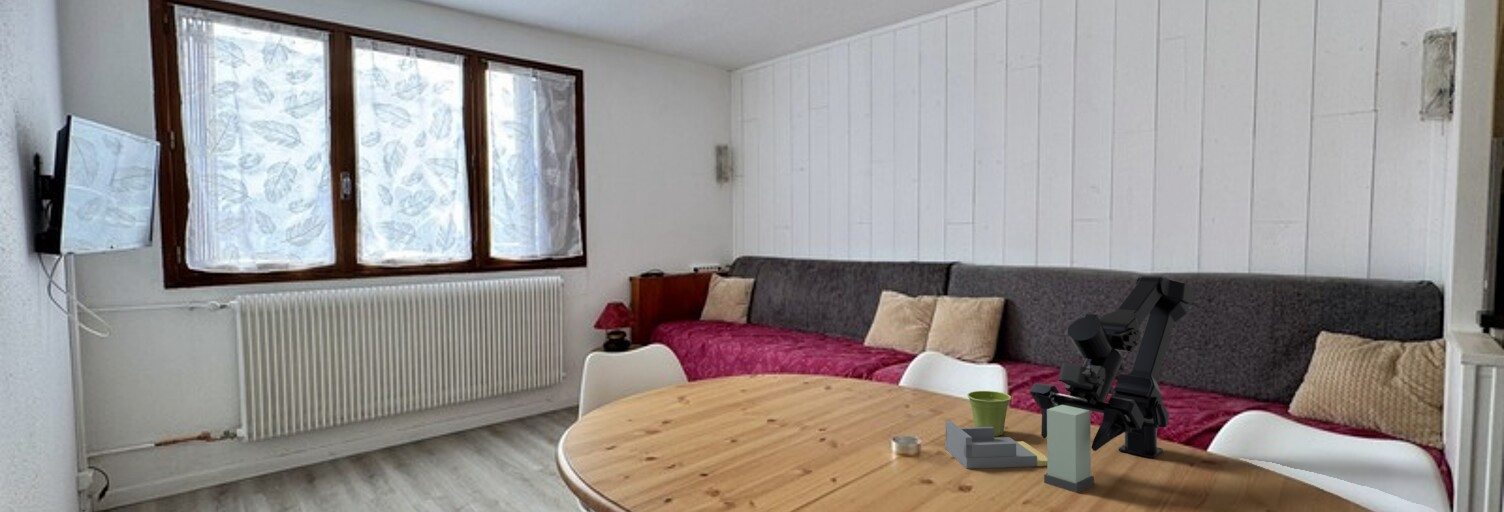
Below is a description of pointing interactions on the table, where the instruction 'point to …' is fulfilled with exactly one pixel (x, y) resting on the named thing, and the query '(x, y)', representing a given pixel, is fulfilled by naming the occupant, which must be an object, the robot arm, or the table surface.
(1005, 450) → the dock
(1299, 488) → the table surface
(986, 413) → the plant pot
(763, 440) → the table surface
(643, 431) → the table surface
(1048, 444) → the pale green tall block
